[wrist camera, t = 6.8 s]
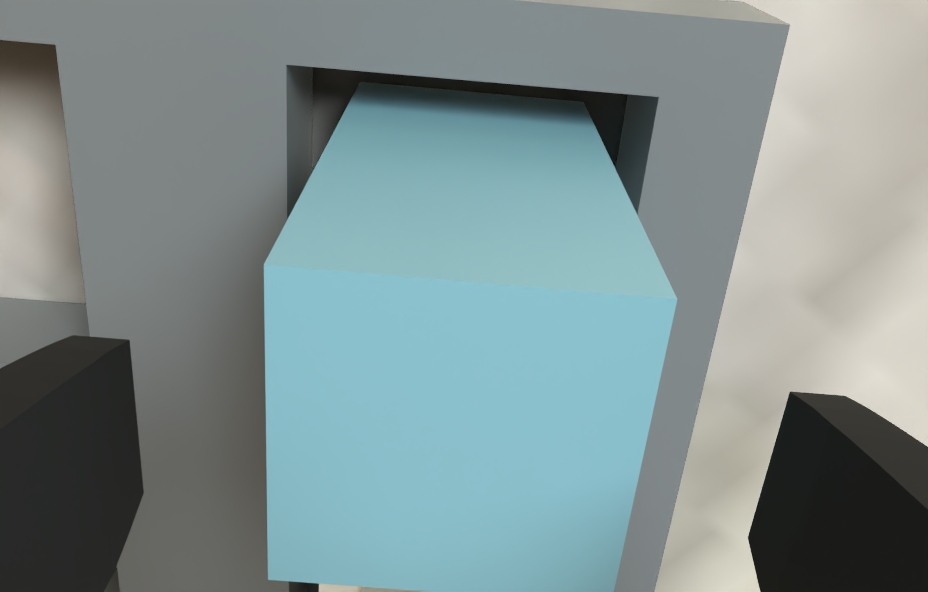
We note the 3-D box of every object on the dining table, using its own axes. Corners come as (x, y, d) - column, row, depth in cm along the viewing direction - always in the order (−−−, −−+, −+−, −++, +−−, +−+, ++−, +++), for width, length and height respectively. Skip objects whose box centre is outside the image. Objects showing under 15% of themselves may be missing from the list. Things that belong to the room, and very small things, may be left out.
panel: (743, 1, 15) (789, 25, 13) (606, 640, 21) (622, 726, 19) (-341, -96, 14) (-485, -90, 12) (-141, 589, 21) (-212, 672, 19)
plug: (582, 101, 16) (677, 299, 8) (549, 327, 18) (603, 641, 11) (360, 81, 16) (263, 264, 8) (352, 311, 18) (268, 618, 10)
